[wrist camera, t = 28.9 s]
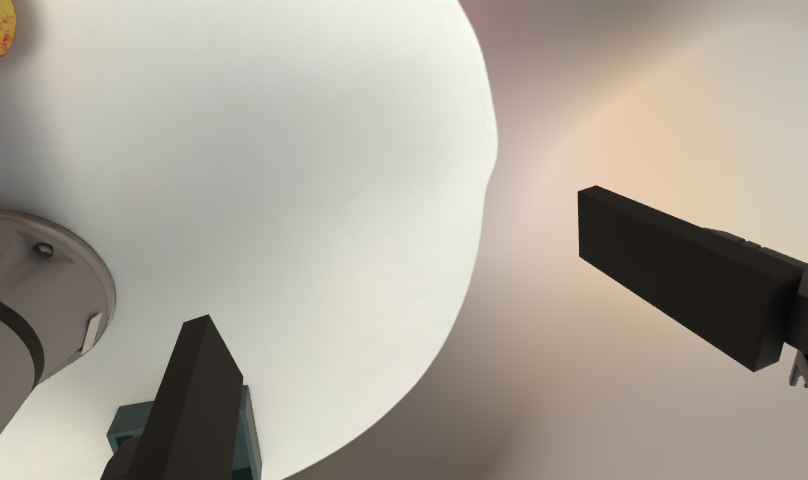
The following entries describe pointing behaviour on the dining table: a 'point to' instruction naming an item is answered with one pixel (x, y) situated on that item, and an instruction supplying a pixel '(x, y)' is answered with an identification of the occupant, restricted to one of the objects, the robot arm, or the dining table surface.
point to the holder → (246, 447)
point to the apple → (6, 25)
